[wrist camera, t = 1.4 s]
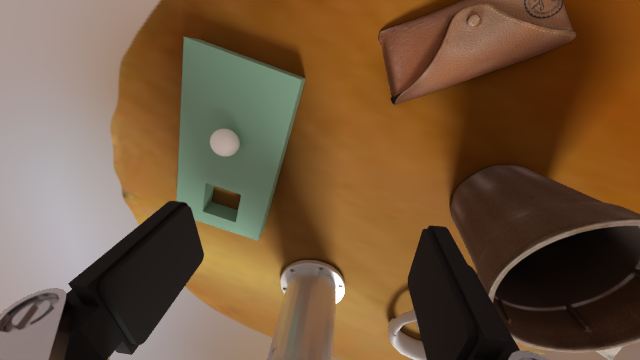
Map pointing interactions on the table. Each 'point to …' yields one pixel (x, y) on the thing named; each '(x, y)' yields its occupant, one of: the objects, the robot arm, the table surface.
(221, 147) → the ball
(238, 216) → the green board
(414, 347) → the headphones
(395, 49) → the sunglasses case
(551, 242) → the plant pot
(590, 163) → the table surface
